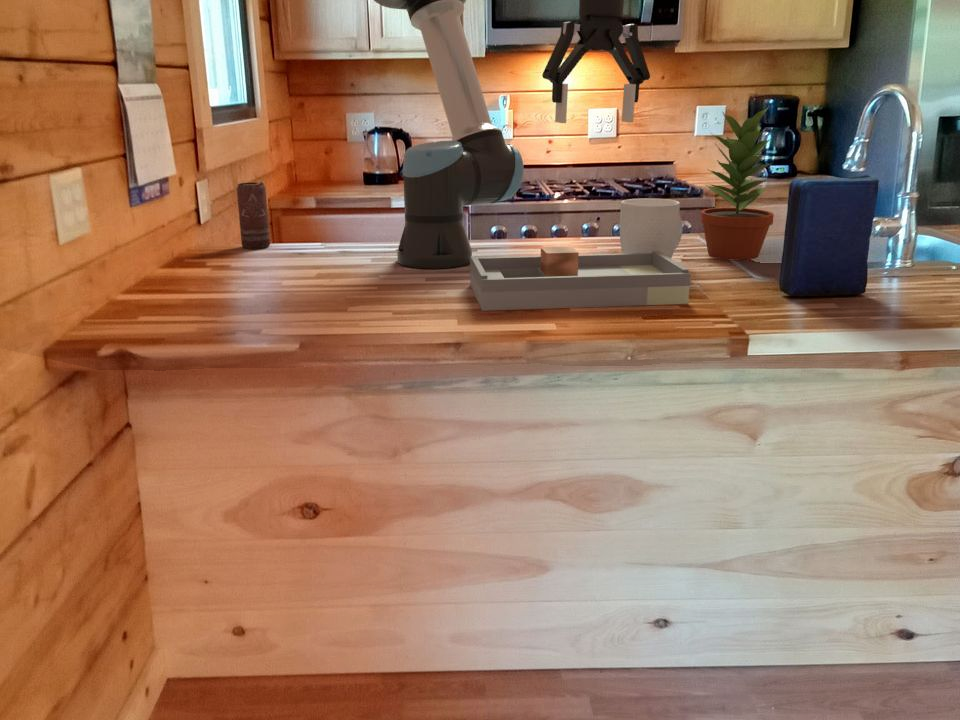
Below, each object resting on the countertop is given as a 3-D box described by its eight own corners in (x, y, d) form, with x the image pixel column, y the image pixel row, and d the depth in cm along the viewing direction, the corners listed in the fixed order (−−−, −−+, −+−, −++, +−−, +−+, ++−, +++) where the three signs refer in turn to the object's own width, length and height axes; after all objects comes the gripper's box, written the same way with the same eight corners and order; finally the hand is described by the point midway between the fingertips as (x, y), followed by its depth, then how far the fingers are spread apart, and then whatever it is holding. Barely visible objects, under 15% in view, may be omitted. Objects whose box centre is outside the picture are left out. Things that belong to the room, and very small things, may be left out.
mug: (655, 259, 174) (659, 194, 170) (700, 267, 166) (705, 200, 162) (605, 269, 165) (608, 201, 161) (650, 278, 157) (654, 207, 153)
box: (482, 310, 135) (481, 276, 134) (470, 285, 152) (470, 255, 151) (688, 303, 139) (690, 270, 137) (654, 279, 156) (656, 250, 154)
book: (854, 291, 147) (869, 173, 141) (870, 298, 142) (888, 176, 136) (774, 293, 145) (787, 174, 139) (788, 301, 140) (802, 178, 134)
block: (546, 276, 145) (546, 253, 144) (540, 269, 150) (540, 247, 149) (577, 275, 146) (578, 252, 145) (570, 268, 151) (571, 246, 150)
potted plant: (681, 251, 182) (691, 105, 172) (740, 246, 187) (753, 104, 177) (723, 264, 168) (736, 107, 159) (785, 259, 173) (802, 105, 164)
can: (277, 246, 190) (271, 182, 186) (255, 250, 185) (250, 185, 181) (257, 243, 193) (252, 181, 189) (236, 247, 188) (230, 183, 184)
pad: (646, 305, 138) (647, 287, 137) (617, 280, 155) (617, 264, 154) (688, 303, 139) (689, 285, 138) (654, 279, 156) (655, 263, 155)
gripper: (546, -13, 136) (541, 124, 143) (676, -6, 145) (665, 122, 152) (526, -10, 143) (522, 121, 150) (652, -4, 152) (642, 120, 159)
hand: (594, 122), depth 151 cm, fingers open, 13 cm apart
